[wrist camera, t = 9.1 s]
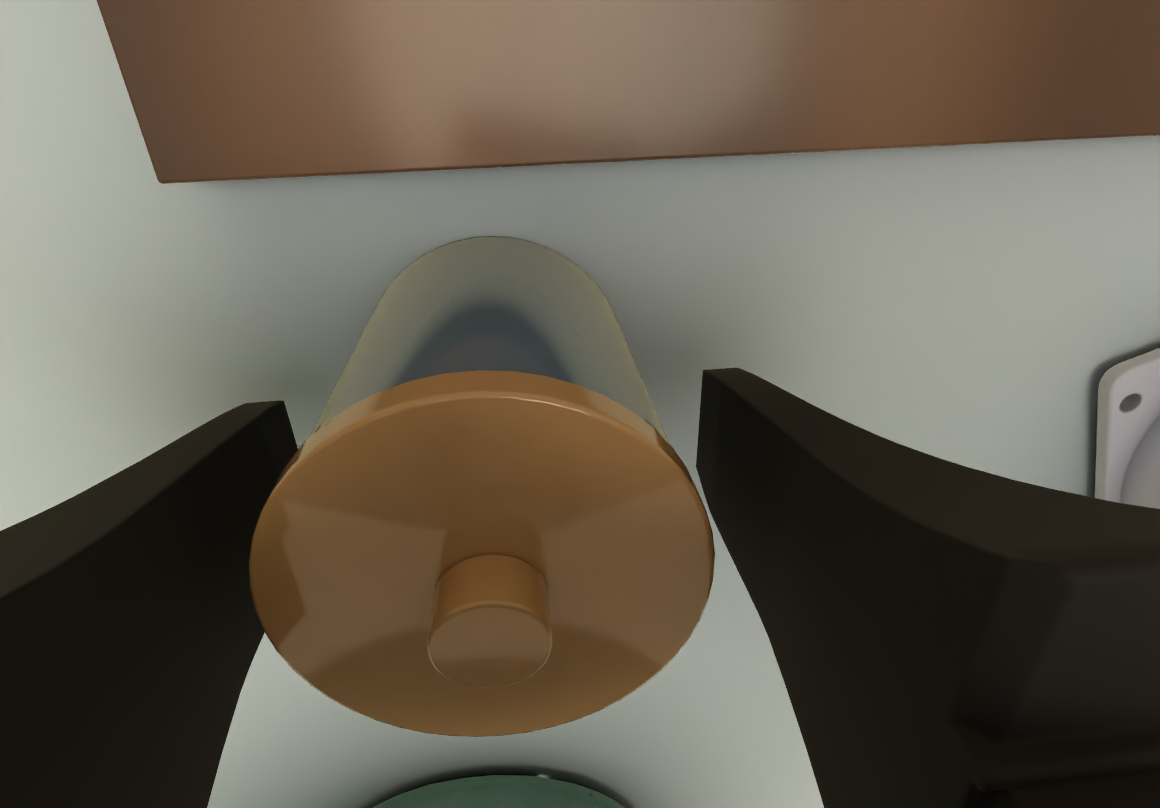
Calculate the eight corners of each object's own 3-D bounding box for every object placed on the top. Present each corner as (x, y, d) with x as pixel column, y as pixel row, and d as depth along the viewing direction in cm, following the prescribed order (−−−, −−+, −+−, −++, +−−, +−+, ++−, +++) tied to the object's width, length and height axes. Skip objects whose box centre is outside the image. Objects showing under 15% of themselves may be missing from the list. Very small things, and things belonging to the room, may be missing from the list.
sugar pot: (658, 415, 15) (784, 708, 8) (442, 500, 15) (394, 841, 9) (568, 183, 12) (645, 340, 5) (308, 297, 13) (89, 567, 6)
